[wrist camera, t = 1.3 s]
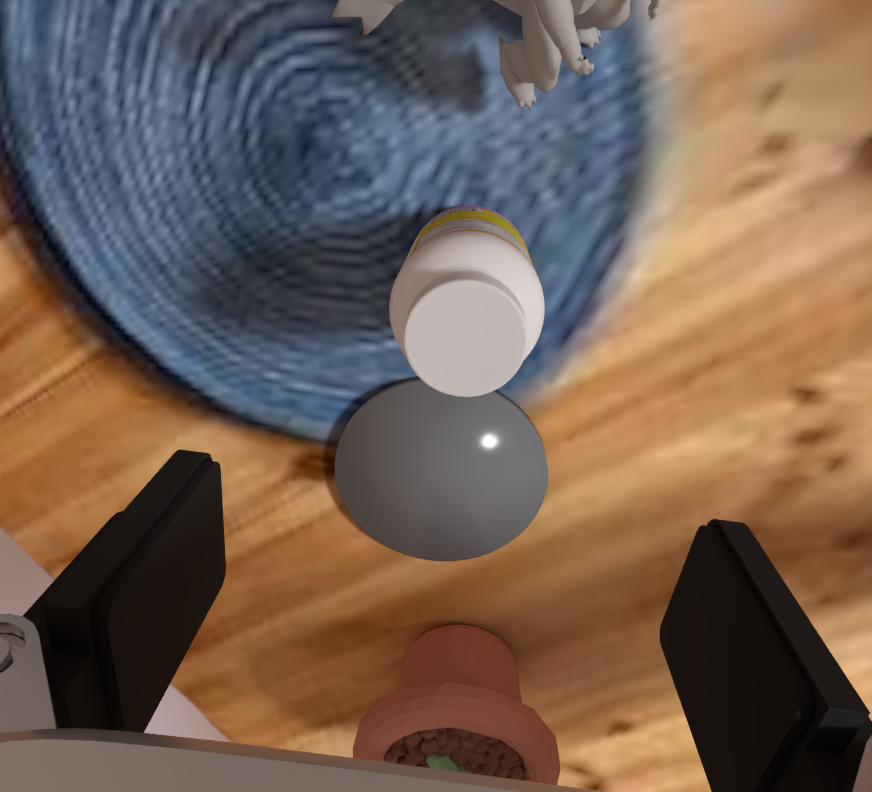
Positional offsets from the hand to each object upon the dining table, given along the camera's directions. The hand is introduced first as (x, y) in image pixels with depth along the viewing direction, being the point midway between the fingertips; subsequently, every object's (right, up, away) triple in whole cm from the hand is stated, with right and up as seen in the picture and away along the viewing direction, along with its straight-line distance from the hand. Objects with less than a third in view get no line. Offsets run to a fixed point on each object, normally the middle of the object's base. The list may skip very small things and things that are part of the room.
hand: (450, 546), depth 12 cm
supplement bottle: (+2, +10, +22) cm, 25 cm away
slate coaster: (0, -2, +28) cm, 28 cm away
